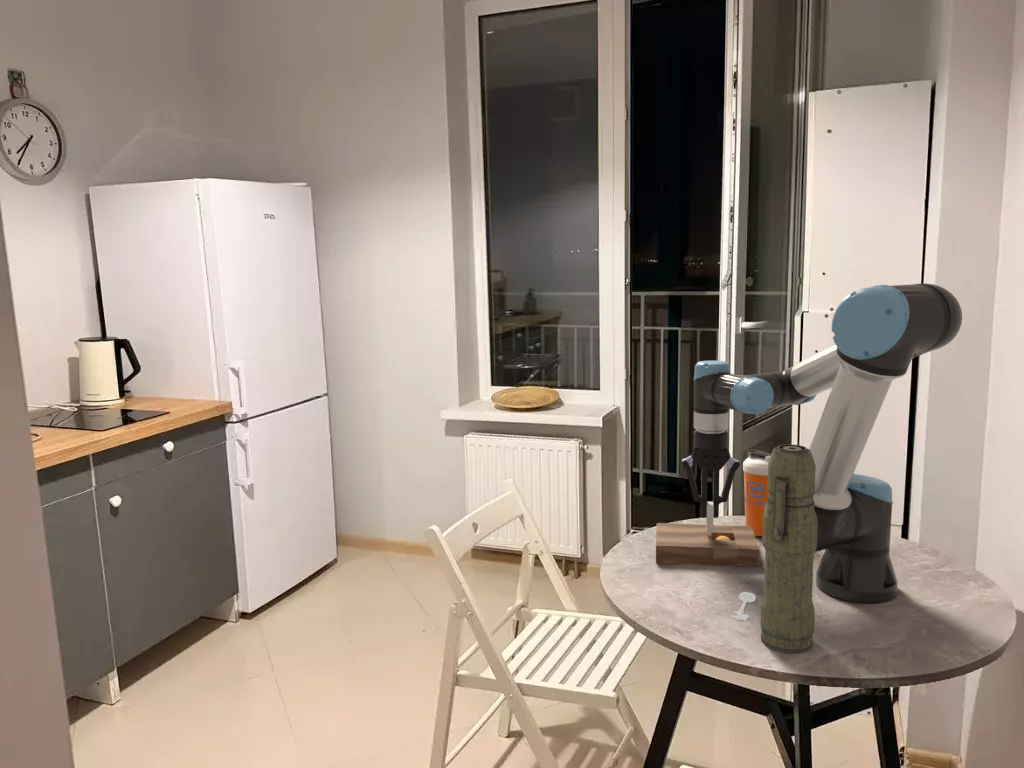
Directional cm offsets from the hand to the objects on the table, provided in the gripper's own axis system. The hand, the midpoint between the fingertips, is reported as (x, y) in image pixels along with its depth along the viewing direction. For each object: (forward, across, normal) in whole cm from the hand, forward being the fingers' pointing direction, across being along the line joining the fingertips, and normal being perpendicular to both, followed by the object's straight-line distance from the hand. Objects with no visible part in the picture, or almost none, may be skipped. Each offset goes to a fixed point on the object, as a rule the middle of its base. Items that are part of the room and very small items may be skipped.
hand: (709, 530), depth 179 cm
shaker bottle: (+5, -13, -15) cm, 21 cm away
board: (+5, +1, 0) cm, 5 cm away
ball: (+3, -3, 0) cm, 4 cm away
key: (+6, -5, +28) cm, 29 cm away
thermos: (+5, -11, +41) cm, 43 cm away
